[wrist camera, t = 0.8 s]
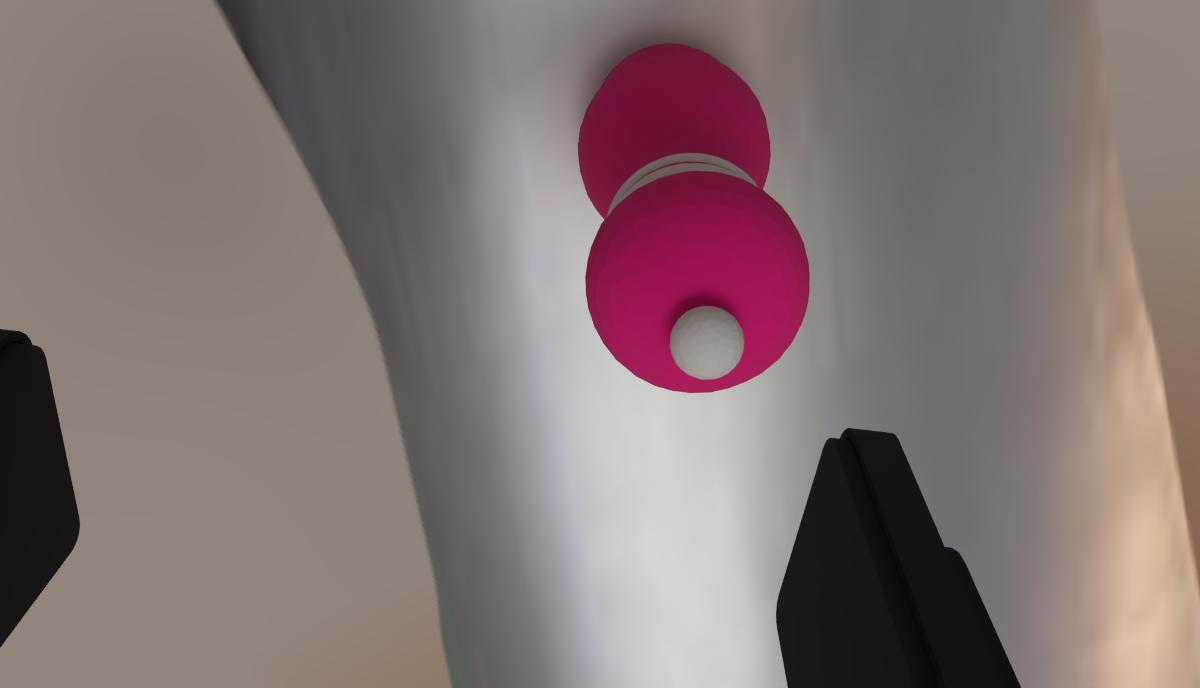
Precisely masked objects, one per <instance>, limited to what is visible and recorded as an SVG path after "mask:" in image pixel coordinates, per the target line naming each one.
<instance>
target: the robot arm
mask: <svg viewBox="0 0 1200 688" xmlns="http://www.w3.org/2000/svg"><path fill="white" fill-rule="evenodd" d="M79 529H80V521H79V515H78V509H77V505H76V500H75V495H74V490H73V485H72V481H71V476H70V471H69V466H68V461H67V457H66V452H65V447H64V442H63V437H62V433H61V428H60V423H59V418H58V413H57V409H56V404H55V399H54V394H53V389H52V384H51V380H50V375H49V370H48V365H47V361H46V357H45V354H44V352H43V351H42V349H41V348H40V347H38V346H35V345H32V343H31V340H30V339H29V338H28V336H27V335H26V334H24V333H22V332H20V331H12V330H3V329H0V647H1V646H2V645H3V643H4V642H5V640H6V639H7V638H8V636H9V635H10V634H11V632H12V631H13V630H14V628H15V627H16V626H17V624H18V623H19V622H20V620H21V619H22V618H23V616H24V615H25V614H26V612H27V611H28V610H29V608H30V607H31V605H32V604H33V603H34V601H35V600H36V599H37V597H38V596H39V595H40V593H41V592H42V591H43V589H44V588H45V587H46V585H47V584H48V583H49V581H50V580H51V579H52V577H53V576H54V575H55V573H56V572H57V570H58V569H59V568H60V566H61V565H62V564H63V562H64V561H65V560H66V558H67V557H68V556H69V554H70V553H71V551H72V550H73V548H74V546H75V544H76V541H77V539H78V534H79ZM776 623H777V630H778V636H779V641H780V646H781V652H782V657H783V663H784V668H785V674H786V679H787V685H788V688H1021V686H1020V684H1019V682H1018V680H1017V677H1016V675H1015V673H1014V671H1013V669H1012V666H1011V664H1010V662H1009V660H1008V657H1007V655H1006V653H1005V651H1004V648H1003V646H1002V644H1001V642H1000V639H999V637H998V635H997V633H996V631H995V628H994V626H993V624H992V622H991V619H990V617H989V615H988V613H987V610H986V608H985V606H984V604H983V601H982V599H981V597H980V595H979V593H978V590H977V588H976V586H975V584H974V581H973V579H972V577H971V575H970V572H969V570H968V568H967V566H966V564H965V562H964V560H963V558H962V557H961V555H960V554H959V552H957V551H956V550H954V549H953V548H949V547H944V544H943V542H942V540H941V537H940V535H939V533H938V530H937V528H936V526H935V523H934V521H933V519H932V516H931V514H930V512H929V510H928V507H927V505H926V503H925V500H924V498H923V496H922V493H921V491H920V489H919V486H918V484H917V482H916V479H915V477H914V475H913V472H912V470H911V468H910V465H909V463H908V461H907V458H906V456H905V454H904V451H903V449H902V447H901V444H900V442H899V440H898V438H897V437H896V435H895V434H893V433H887V432H878V431H870V430H861V429H853V428H848V429H846V430H845V431H844V432H843V433H842V435H841V437H840V439H836V438H829V439H828V440H827V441H826V443H825V445H824V448H823V451H822V454H821V458H820V461H819V464H818V467H817V471H816V474H815V477H814V481H813V484H812V487H811V490H810V494H809V497H808V500H807V504H806V507H805V510H804V514H803V517H802V520H801V523H800V527H799V530H798V533H797V537H796V540H795V543H794V546H793V550H792V553H791V556H790V560H789V563H788V566H787V570H786V573H785V576H784V579H783V583H782V586H781V589H780V593H779V596H778V601H777V610H776Z"/></svg>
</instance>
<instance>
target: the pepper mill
mask: <svg viewBox="0 0 1200 688" xmlns="http://www.w3.org/2000/svg"><path fill="white" fill-rule="evenodd" d="M578 156H579V165H580V172H581V176H582V179H583V182H584V185H585V189H586V192H587V195H588V196H589V198H590V200H591V202H592V203H593V205H594V207H595V209H596V210H597V211H598V212H599V214H600V215H601V216H602V217H603V218H604V221H603V223H602V224H601V226H600V228H599V230H598V233H597V235H596V237H595V239H594V242H593V244H592V246H591V250H590V254H589V258H588V262H587V270H586V277H585V279H586V296H587V302H588V308H589V311H590V314H591V317H592V320H593V323H594V326H595V328H596V330H597V332H598V334H599V336H600V338H601V339H602V341H603V343H604V345H605V346H606V347H607V348H608V350H609V351H610V352H611V354H612V355H613V356H614V357H615V359H616V360H617V361H618V362H620V363H621V364H622V365H623V366H625V367H626V368H627V369H628V370H629V371H631V372H632V373H633V374H634V375H635V376H637V377H639V378H641V379H643V380H645V381H647V382H649V383H650V384H652V385H654V386H657V387H661V388H665V389H668V390H672V391H679V392H687V393H704V392H714V391H718V390H723V389H727V388H730V387H733V386H736V385H738V384H741V383H743V382H746V381H748V380H750V379H752V378H753V377H755V376H757V375H759V374H761V373H763V372H764V371H765V370H766V369H767V368H769V367H770V366H771V365H772V364H773V363H775V362H776V361H777V360H778V359H779V358H780V357H781V356H782V354H783V353H784V352H785V351H786V349H787V348H788V347H789V346H790V344H791V343H792V341H793V339H794V338H795V336H796V334H797V332H798V330H799V328H800V326H801V324H802V321H803V318H804V316H805V313H806V308H807V304H808V298H809V264H808V259H807V255H806V251H805V247H804V243H803V241H802V239H801V236H800V234H799V232H798V230H797V228H796V227H795V225H794V223H793V222H792V220H791V218H790V217H789V216H788V214H787V213H786V212H785V210H784V209H783V207H782V206H781V205H780V204H779V203H777V202H776V201H775V200H774V199H773V198H772V197H770V196H769V195H768V194H767V193H766V192H765V191H763V188H764V185H765V182H766V178H767V175H768V171H769V165H770V156H771V155H770V139H769V134H768V128H767V123H766V118H765V116H764V113H763V111H762V108H761V105H760V103H759V100H758V99H757V98H756V96H755V95H754V93H753V92H752V90H751V89H750V87H749V86H748V85H747V84H746V83H745V82H744V81H743V80H742V79H741V78H740V77H739V76H738V75H737V74H736V73H734V72H733V71H732V70H730V69H729V68H728V67H726V66H724V65H722V64H721V63H719V62H718V61H717V60H715V59H714V58H713V57H712V56H710V55H708V54H707V53H705V52H703V51H701V50H698V49H695V48H691V47H688V46H685V45H678V44H664V45H655V46H652V47H648V48H645V49H642V50H640V51H637V52H636V53H634V54H632V55H630V56H629V57H627V58H626V59H625V60H623V61H622V62H621V63H620V64H619V65H618V66H616V67H615V68H614V70H613V71H612V72H611V73H610V74H609V76H608V77H607V78H606V79H605V81H604V83H603V85H602V87H601V88H600V90H599V91H598V92H597V93H596V95H595V96H594V98H593V100H592V102H591V103H590V105H589V107H588V109H587V110H586V113H585V116H584V119H583V122H582V125H581V128H580V134H579V142H578Z"/></svg>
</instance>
